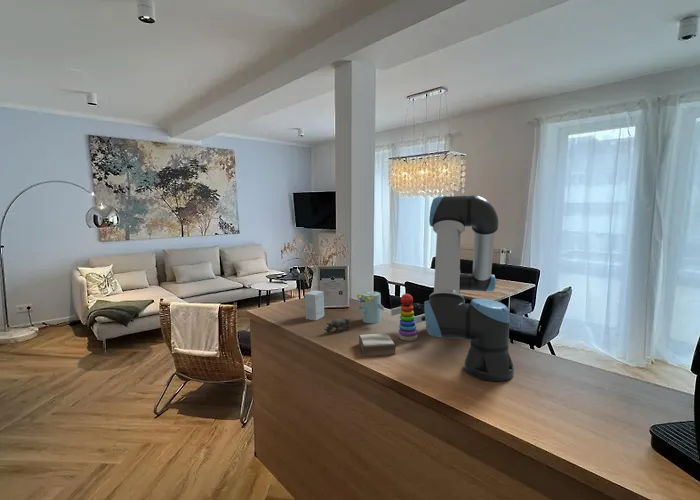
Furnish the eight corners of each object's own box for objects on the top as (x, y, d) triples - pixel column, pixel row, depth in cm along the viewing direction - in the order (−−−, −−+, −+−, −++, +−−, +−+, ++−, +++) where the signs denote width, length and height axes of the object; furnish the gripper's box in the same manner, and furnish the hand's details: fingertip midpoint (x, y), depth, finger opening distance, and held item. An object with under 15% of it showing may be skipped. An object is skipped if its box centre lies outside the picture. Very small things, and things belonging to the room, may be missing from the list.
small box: (314, 314, 184) (313, 290, 182) (324, 316, 181) (323, 291, 179) (305, 319, 177) (304, 293, 175) (316, 320, 174) (315, 294, 172)
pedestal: (395, 354, 132) (395, 343, 132) (363, 356, 131) (363, 346, 131) (388, 342, 144) (388, 332, 144) (359, 344, 143) (358, 334, 143)
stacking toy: (416, 334, 152) (416, 291, 150) (418, 341, 144) (418, 296, 142) (398, 334, 153) (397, 291, 150) (398, 341, 145) (398, 296, 142)
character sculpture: (348, 318, 177) (347, 291, 175) (366, 313, 183) (366, 288, 181) (372, 329, 160) (372, 299, 159) (392, 323, 167) (392, 295, 165)
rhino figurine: (321, 333, 156) (321, 320, 155) (347, 327, 164) (347, 314, 163) (326, 336, 153) (326, 323, 152) (353, 329, 160) (352, 316, 160)
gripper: (460, 321, 148) (426, 333, 136) (416, 308, 168) (382, 317, 156) (461, 304, 147) (426, 314, 135) (416, 293, 167) (382, 301, 155)
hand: (402, 316), depth 145 cm, fingers open, 13 cm apart
